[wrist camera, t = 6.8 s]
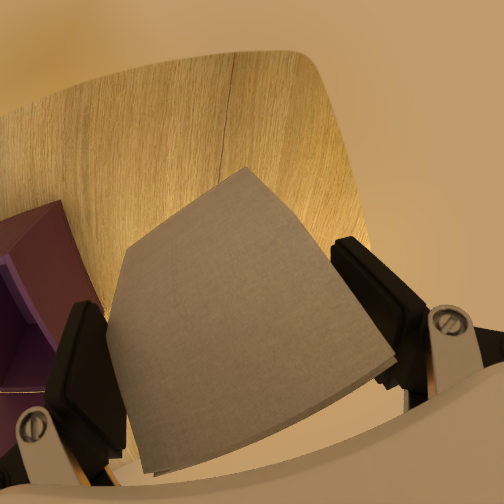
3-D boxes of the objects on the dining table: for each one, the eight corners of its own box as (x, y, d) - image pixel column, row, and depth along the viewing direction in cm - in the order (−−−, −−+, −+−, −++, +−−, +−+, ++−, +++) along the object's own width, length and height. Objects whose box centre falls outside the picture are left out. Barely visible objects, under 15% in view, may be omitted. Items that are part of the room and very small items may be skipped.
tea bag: (126, 249, 13) (90, 451, 5) (245, 166, 13) (379, 304, 4) (173, 299, 15) (191, 488, 7) (283, 227, 15) (405, 387, 6)
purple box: (-19, 229, 26) (-73, 282, 15) (60, 199, 28) (8, 253, 17) (28, 325, 34) (1, 392, 23) (104, 311, 36) (88, 388, 24)
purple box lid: (-49, 495, 7) (-43, 500, 7) (53, 533, 9) (60, 538, 9) (-2, 392, 22) (1, 397, 22) (86, 389, 24) (89, 394, 24)
